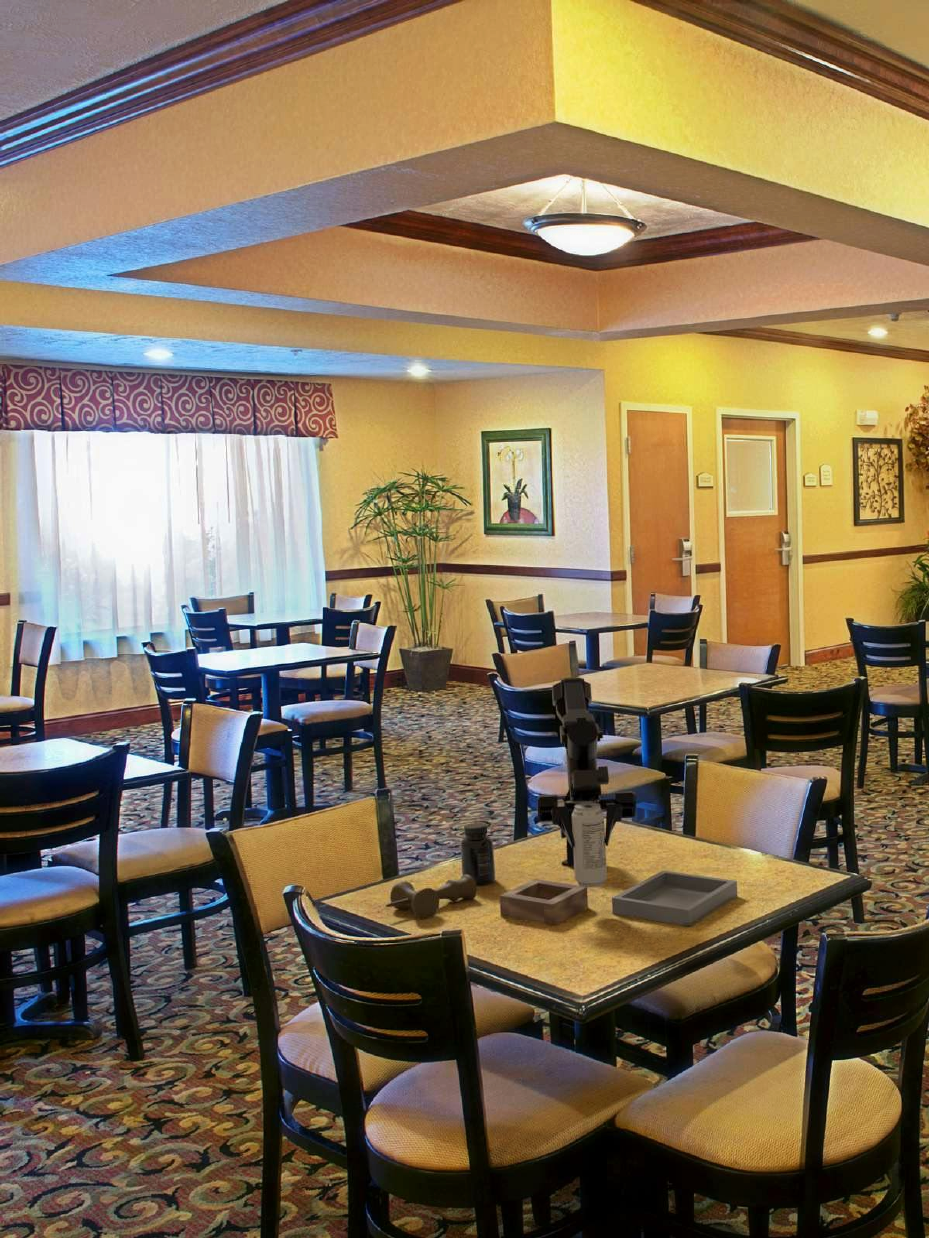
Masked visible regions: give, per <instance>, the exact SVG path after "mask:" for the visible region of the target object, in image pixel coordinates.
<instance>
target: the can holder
mask: <svg viewBox="0 0 929 1238" xmlns="http://www.w3.org/2000/svg"><path fill="white" fill-rule="evenodd" d="M588 898H589V897H588V887H582V886H579V885H578V884H571V883H564V882H558V881H552V880H544V879H538V878H534V879H532V880H529V881H527V882H526V883H523V884H521V885H518V886H516V887H515V888H513V889H511V890H508V891H506V892H504V893H502V894H500V895H499V907H500V908H499V909H500V911H499V912H500V917H504V918H508V917H509V919H514V918H515V920H519V921H525V920H527V921H526V922H530V923H531V921H532V923H537V924H540V925H548V926H552V927H555V926H556V925H558V924H560V923H561V922H564V921H566V920H567V919H569V918H572V917H573V916H574V915H577V914H578V913H580V912H582V911H584V910H586V909H588V908H589V899H588Z"/></svg>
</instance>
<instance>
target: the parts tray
mask: <svg viewBox="0 0 929 1238" xmlns="http://www.w3.org/2000/svg"><path fill="white" fill-rule="evenodd" d="M735 898H738V881H737V880H732V879H726V878H725V879H724V878H721V877H720V878H719V877H713V876H712V877H711V876H707V875H706V876H705V875H700V874H699V875H697V874H693V873H691V874H690V873H683V872H678V871H669V870H661V871H659V872H657V873H655V874H653V875H651V876H650V877H648V878H646V879H644V880H642V881H640V882H639V883H637V884H636V885H632V887H630V888H628V889H626V890H624V891H622V892H620V893H618V894H616V895H615V896H613V897H611V907H612V914H614V915H618V916H619V915H620V916H623V917H631V918H637V919H642V920H649V921H653V920H654V922H659V923H660V922H661V923H665V924H670V925H671V924H672V925H676V924H677V925H678V926H682V925H683V927H688V928H691V926H693V925H695V924H696V923H699V921H701V920H702V919H704V918H706V917H707V916H709V915H710V914H712V913H713V912H715V911H716V910H718V909H720V908H721V907H723V906H725V904H728V903H729V902H731V901H732V900H733V899H735ZM730 900H731V901H730ZM719 907H720V908H719ZM677 925H676V926H677Z"/></svg>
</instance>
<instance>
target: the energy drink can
mask: <svg viewBox="0 0 929 1238" xmlns="http://www.w3.org/2000/svg"><path fill="white" fill-rule="evenodd" d="M574 807H575V809H574V811H573V813H572V832H573V839H574V848H573V852H574V866H573V867H574V868H573V869H574V870H573V871H574V881H576V882H577V886H582V887H587V888H598V887H601V886H604V884H605V881H607V879H608V875H607V873H608V872H607V855H606V854H607V853H606V852H607V851H606V850H607V849H606V844H605V832H606V826H605V814H604V810H601V808H600V804H598V803H593V802H585V803H579V804H576V805H575V806H574Z"/></svg>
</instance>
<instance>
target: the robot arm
mask: <svg viewBox="0 0 929 1238" xmlns="http://www.w3.org/2000/svg"><path fill="white" fill-rule="evenodd" d="M591 685H592V684H591V683H590V682H587V681H586V680H585V679H584V677H583V678H582V677H581V676H580V677H565V678H563V679H560V682H558V683H556V684H553V685H552V688H551V691H552V693H551V694H552V695H551V696H552V705H553V706H554V707H555V710H556V715H557V717H558V719H559V720H560V721H561V723H562V725H560V726H559V735H560V744H563V745H564V746H563V747H564V748H565V755H566V756H565V757H566V770H567V773H566V774H567V785H568V791H567V793H566V795H565V796H564V798H563V799H559V798H558V794H544V795H543V794H541V795H538V797H537V798H536V809H537V821H539V822H540V823H545V822H551V823H552V825H554V826H555V825H557V826H558V827H559V829H560V836H561V839H566V845H565V848H566V859H565V860H563V861H561V865H564V866H572V867H574V852H573V848H574V839H573V832H572V813H573V811H574V809H575V807H574V806H575V805H576V804H579V803H585V802H593V803H598V804H600V808H601V810H602V811H606V814H605V847H608V846H609V843H610V840H611V835H612V833H613V829H614V827H615V825H616V823H619V822H622V819H629V818H630V819H631V818H634V817H636V811H637V810H636V809H637V798H636V797H637V796H636V793H635V792H633V791H632V790H625V791H624V790H623V791H614V792H613V793H614V794H613V798H606V799H601V796H602V786H601V785H609V784H610V783H609V782H610V777H609V775H610V774H609V769H608V767H609V766H607V765H605V766H604V765H603V766H598V761H597V754H598V743H599V742H601V739H604V731H603V730H602V729H601V728H600V727H599V724H598V723H596V722H595V718H594V715H593V714H592V713H590V712H589V709H590V708H589V705H591V704H592V700H593V698H592V686H591Z"/></svg>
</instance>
